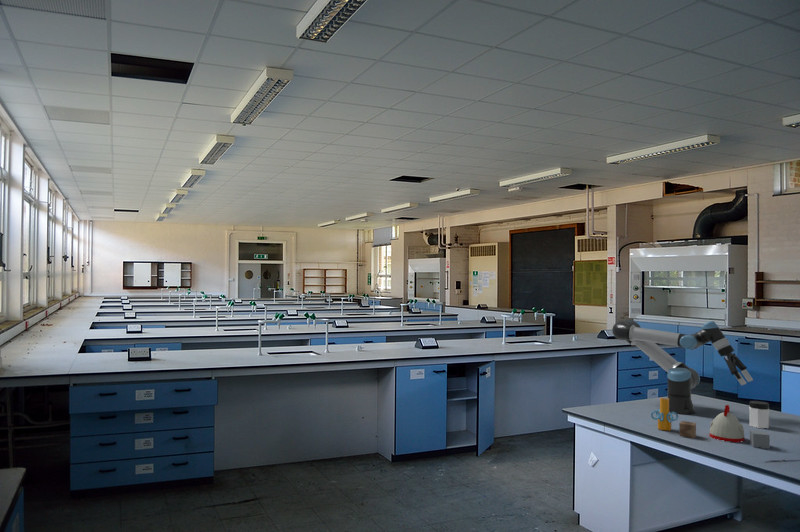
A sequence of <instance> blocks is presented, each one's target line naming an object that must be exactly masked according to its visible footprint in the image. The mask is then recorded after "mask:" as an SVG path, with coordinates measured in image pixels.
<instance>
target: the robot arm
mask: <svg viewBox="0 0 800 532" xmlns="http://www.w3.org/2000/svg"><path fill="white" fill-rule="evenodd" d="M700 328H701V330H699V331H698V332H697V331H696V332H695V333H692V334H685V333H679V332H678V333H677V332H671V331H665V330H659V329H658V330H657V329H651V328H645V327H641V325H640V324H639V323H638V322H637V321H634V320H630V319H627V320H620V321H617V322H615V323H614V324H613V326H612V328H611V329H612V330H611V331H612V334H613V336H614V338H615V339H617V340H620V341H626V342H627V343H628V344H629V345H631V346H635V347H637V348H638V349H639V350H640V351H641V352H643V353H644V354H645V355H646V356H647V357H648V358H650V359H651V360H652V361H653V362H655V364H657V365H658V366H659V367H660V368H662V370H664V371H665V372H666V373H667V374H666V375H667V376H666V377H667V396H666V398H669V412H670V413H671V412H675V413H677V414H678V413H679V414H680V415H693V414H695V407H694V404H693V401H692V390H693V389H695V388H696V387H697V386H699V383H701V382H700V381H701V377H700V374H699V372H698V371H697V370H696V369H694V368H692V367H689V366H688V365H687V364H685V362H680V361H678V360H676V359H675V358H674V357H673V356H672V355H671V354H669V353H668V352H667V351H665V349H663V348H662V347H660V346H659V344H660V345H666V346H671V347H677V348H678V347H679V348H683V349H686V350H691V351H693V350H695V349H698V348H700V347H701V346H704V345H705V344H708V343H709V342H711V344H712V345H713V347H714V348H715V350H716V351H717V353H718V355H719V356H720V357H723V359H724V361H725V362H726V365H727V367H728V369H729V371H730V374H731V375H732V376H733V375H734V377H735V378H736V380H737V381H738V383H739V384H740V386H744V385H747V383H750V382H752V381H754V379H753V377H752V375H750V373H749V371H748V370H747V369H748V367H747V366H746V365H745V364H744V363H743V362H742V361H741V359H740V358H739V357H738V356H737V355H736V353H734V352H735V349H734V348H733V346H732V345H731V344H730V341H729V339H728V338H726V336H725V335H724V333H723V331H722V330H721V329H720V327H719V326H718V324H717V323H716V322H715V321H714V320H711V321H708V322H706V323H703V324H702V325H701V326H700ZM738 369H739V370H740V372H739V370H738ZM743 377H744V378H745V379H744V378H743ZM679 414H678V415H679Z"/></svg>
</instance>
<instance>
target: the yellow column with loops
mask: <svg viewBox="0 0 800 532" xmlns="http://www.w3.org/2000/svg"><path fill="white" fill-rule="evenodd" d="M654 413H655V415H656V417H654ZM673 414H674V415H675V418H674V416H673ZM650 416H651V418H652V419H653V420H657V429H658V430H660V431H666V432H669V431H672V422H673V421H677V420H678V419H679V414H678V413H675V412H669V398H667V397H660V398H659V409H658V408H657V409H656V410H652V411H651V413H650Z"/></svg>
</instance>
